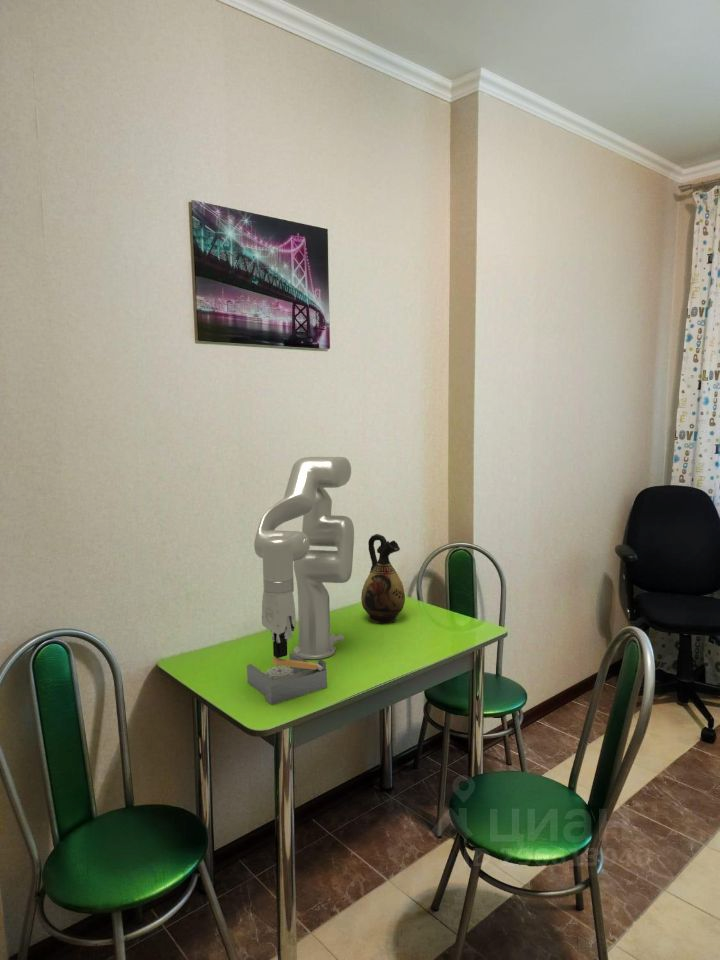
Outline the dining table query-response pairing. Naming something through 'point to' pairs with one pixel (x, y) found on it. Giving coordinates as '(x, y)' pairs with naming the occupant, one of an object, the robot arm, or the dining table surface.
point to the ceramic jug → (382, 584)
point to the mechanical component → (279, 672)
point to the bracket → (288, 681)
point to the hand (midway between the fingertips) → (280, 656)
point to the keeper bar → (296, 664)
